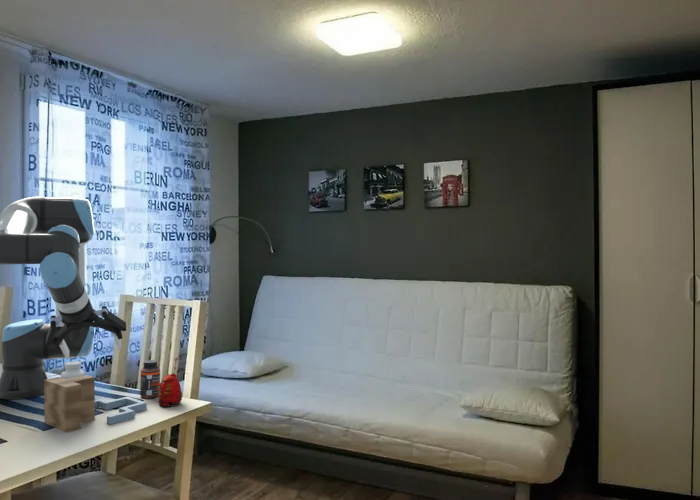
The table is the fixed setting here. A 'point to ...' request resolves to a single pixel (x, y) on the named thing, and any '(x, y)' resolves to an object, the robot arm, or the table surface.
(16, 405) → the table surface
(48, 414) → the tee block
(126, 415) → the tee dock
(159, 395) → the red clay folk toy
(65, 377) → the supplement bottle
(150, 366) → the supplement bottle
